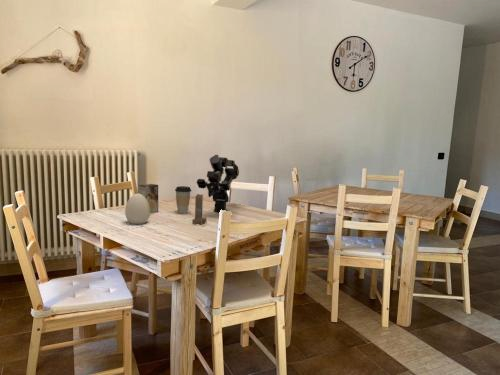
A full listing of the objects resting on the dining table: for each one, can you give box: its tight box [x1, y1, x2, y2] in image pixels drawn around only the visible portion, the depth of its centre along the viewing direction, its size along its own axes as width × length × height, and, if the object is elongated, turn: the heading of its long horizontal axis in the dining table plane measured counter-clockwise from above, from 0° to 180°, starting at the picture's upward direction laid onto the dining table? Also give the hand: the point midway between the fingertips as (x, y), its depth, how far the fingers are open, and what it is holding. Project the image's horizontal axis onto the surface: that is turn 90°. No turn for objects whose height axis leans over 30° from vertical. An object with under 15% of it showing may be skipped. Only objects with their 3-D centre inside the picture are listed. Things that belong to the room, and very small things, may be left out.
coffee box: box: [138, 183, 159, 214], centre depth 218 cm, size 9×6×16 cm
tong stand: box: [192, 195, 208, 226], centre depth 198 cm, size 7×5×15 cm
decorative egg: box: [124, 193, 151, 225], centre depth 194 cm, size 12×12×15 cm
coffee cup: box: [174, 186, 192, 215], centre depth 221 cm, size 9×9×15 cm
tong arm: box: [195, 193, 204, 218], centre depth 197 cm, size 1×3×12 cm, turn 74°
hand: (209, 196), depth 209 cm, fingers closed
